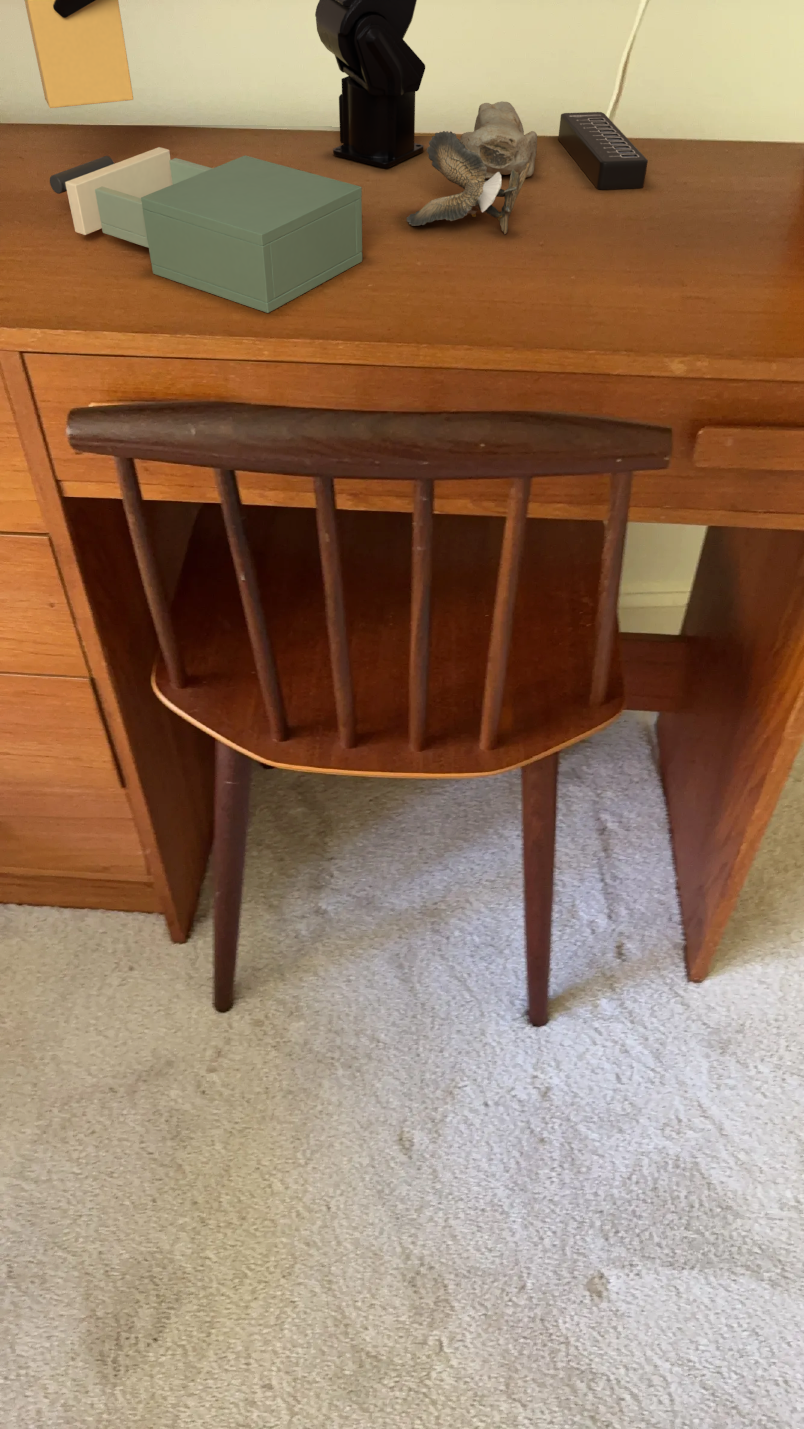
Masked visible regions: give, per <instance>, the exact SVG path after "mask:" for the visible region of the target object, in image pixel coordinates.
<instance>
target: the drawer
mask: <svg viewBox="0 0 804 1429" xmlns="http://www.w3.org/2000/svg"><path fill="white" fill-rule="evenodd" d="M213 168H214V167H210V166H206V165H203V164H200V163H195V162H193V161H188V160H185V159H181V158H177V157H174V158H171V153H170V149H167V148H165V147H161V146H158V147H156V148H152V149H150V150H148V151H145V152H142V153H140V154H137V155H134V156H132V157H129V158H127V159H124V160H120V161H119V162H116V163H115V162H114V160H113V159H112V158H111V157H110V156H109V155H103V156H101V157H99V158H95V159H93V160H90V161H87V162H85V163H81V164H80V165H77V166H74V167H71V168H69V169H66V170H63V171H60V172H57V173H55V174H52V175H50V176H49V184H50V187H51V189H52V191H53V192H54V193H56V194H58V195H59V194H64V193H66V194H67V198H68V203H69V208H70V214H71V218H72V223H73V228H74V231H75V233H77V234H81V235H83V236H87V235H90V234H93V233H94V232H98V231H99V230H101V231H102V234H105V235H108V236H111V237H115V238H117V239H121V240H123V241H126V242H129V243H131V244H136V245H139V246H141V247H145V248H148V249H149V247H148V240H147V234H146V228H145V221H144V215H143V208H142V202H141V197H144V196H146V195H148V194H151V193H153V192H156V191H158V190H161V189H163V188H166V187H168V186H171V185H173V184H176V183H178V182H181V181H183V180H185V179H188V178H190V177H193V176H195V175H198V174H200V173H203V172H205V171H208V170H210V169H213Z"/></svg>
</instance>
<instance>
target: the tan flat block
mask: <svg viewBox="0 0 804 1429" xmlns="http://www.w3.org/2000/svg"><path fill="white" fill-rule="evenodd" d="M54 1H55V0H24V6H25V9H26V14H27V20H28V23H29V24H28V25H29V29H30V34H31V38H32V43H33V47H34V52H35V57H36V63H37V67H38V73H39V76H40V82H41V86H42V92H43V94H44V100H45V102H46V104H47V106H48V107H49V109H57V108H65V107H76V106H87V105H88V106H89V105H97V104H105V103H116V102H127V101H134V93H133V87H132V81H131V74H130V67H129V61H128V54H127V47H126V42H125V35H124V34H125V33H124V28H123V22H122V16H121V15H122V14H121V10H120V3H119V0H95V1H94V2H92V3H90V4H89V5H87V6H85V7H83V8H82V9H80V10H78V11H77V12H75V13H73V14H71V15H70V16H68V17H66V18H63V17H62V16H60V15H59V14H58V13H57V12H56V11H55V10H54V8H53V4H54Z"/></svg>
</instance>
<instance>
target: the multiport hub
mask: <svg viewBox="0 0 804 1429" xmlns="http://www.w3.org/2000/svg"><path fill="white" fill-rule="evenodd" d="M557 139H558V141H559V143H560V144H561V145H562V146H563V148H564V149H565V150H566V152H567V153H568V154H569V155H570V157H571V158H572V159H573V160H574V162H575V163H576V164H577V165H578V167H579V168H580V170H582V172H583V173H584V174H585V176H587V178H588V179H589V181H590V182H591V183H592V185H594V187H595V188H596V189H597V190H601V191H602V190H603V191H605V190H628V189H629V190H631V189H643V188H644V186H645V180H646V175H647V169H648V162H649V160H648V158H647V157H646V156H645V155H643V154H644V153H642V152H641V151H640V149H638V148H637V147H636V146H635V145H634V143H633V142H632V141H631V140H630V139H629V138H628V137H627V136H626V135H625V134H624V133H623V132H622V131H621V129H619V127H618V126H616V124H615V123H614V122H613V121H612V120H611V119H610V118H609V117H608V116H607V115H606V114H605V113H604V112H601V111H588V112H586V111H585V112H563V113H561V114H560V119H559V129H558V136H557Z"/></svg>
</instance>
